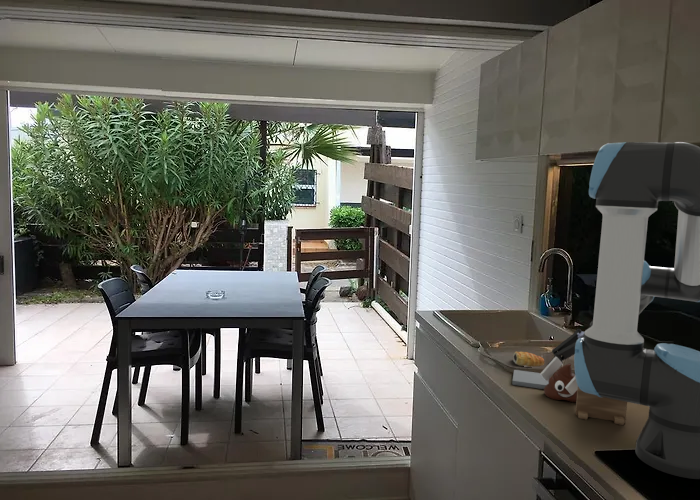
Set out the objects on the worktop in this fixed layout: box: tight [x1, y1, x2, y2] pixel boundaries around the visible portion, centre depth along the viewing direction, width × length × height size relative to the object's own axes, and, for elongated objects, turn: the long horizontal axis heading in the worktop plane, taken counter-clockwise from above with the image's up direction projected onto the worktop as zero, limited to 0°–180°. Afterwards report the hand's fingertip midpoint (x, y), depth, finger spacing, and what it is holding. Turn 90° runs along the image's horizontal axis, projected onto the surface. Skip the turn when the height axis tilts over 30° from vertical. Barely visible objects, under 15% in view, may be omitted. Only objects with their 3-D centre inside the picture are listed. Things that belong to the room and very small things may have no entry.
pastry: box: [512, 351, 545, 368], centre depth 178 cm, size 9×7×4 cm
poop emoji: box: [543, 363, 577, 403], centre depth 150 cm, size 10×8×9 cm
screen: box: [575, 387, 628, 426], centre depth 137 cm, size 5×11×14 cm, turn 72°
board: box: [511, 369, 549, 390], centre depth 161 cm, size 10×10×1 cm
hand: (555, 384), depth 149 cm, fingers open, 10 cm apart
